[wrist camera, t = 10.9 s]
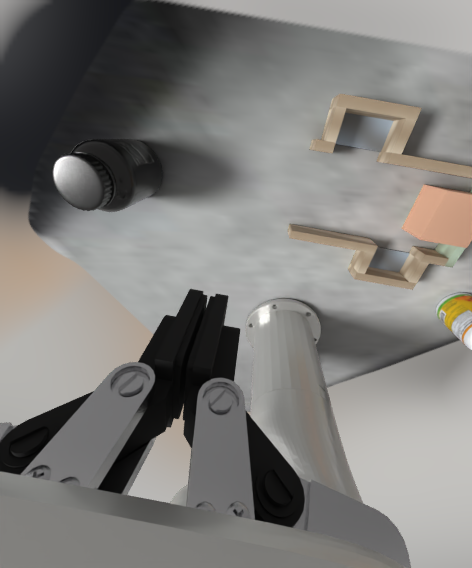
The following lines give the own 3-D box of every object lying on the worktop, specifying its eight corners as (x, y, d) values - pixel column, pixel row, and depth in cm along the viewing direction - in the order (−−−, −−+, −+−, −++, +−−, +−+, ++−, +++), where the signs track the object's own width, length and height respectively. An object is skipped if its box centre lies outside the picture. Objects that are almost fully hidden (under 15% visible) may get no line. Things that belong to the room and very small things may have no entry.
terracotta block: (442, 235, 32) (466, 248, 28) (401, 228, 32) (419, 239, 28) (468, 192, 30) (499, 199, 26) (423, 184, 30) (447, 190, 26)
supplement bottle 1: (103, 146, 31) (22, 146, 20) (153, 133, 30) (94, 128, 19) (125, 201, 34) (65, 226, 24) (171, 192, 33) (128, 215, 22)
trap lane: (422, 282, 36) (434, 293, 33) (280, 257, 36) (281, 265, 33) (517, 131, 26) (545, 129, 24) (323, 97, 26) (330, 91, 24)
